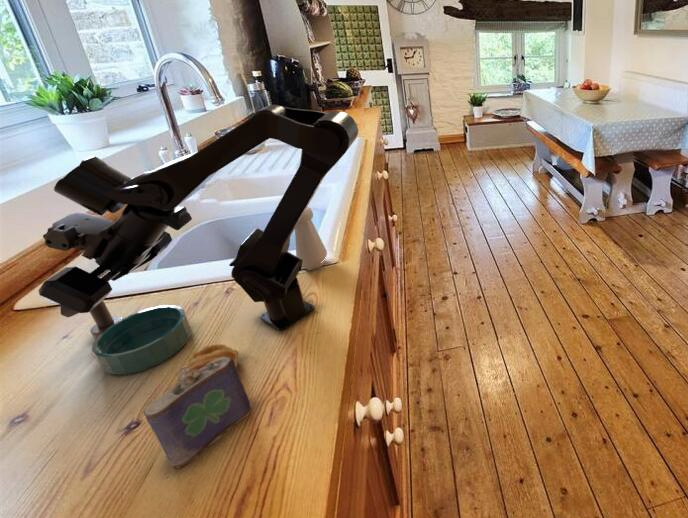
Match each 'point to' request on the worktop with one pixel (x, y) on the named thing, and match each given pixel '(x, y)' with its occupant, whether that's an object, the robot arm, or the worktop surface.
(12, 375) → the worktop surface
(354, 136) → the robot arm
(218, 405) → the flask
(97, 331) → the brown wooden peg
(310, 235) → the salt shaker
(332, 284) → the worktop surface
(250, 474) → the worktop surface
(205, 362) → the pastry
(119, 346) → the bowl
